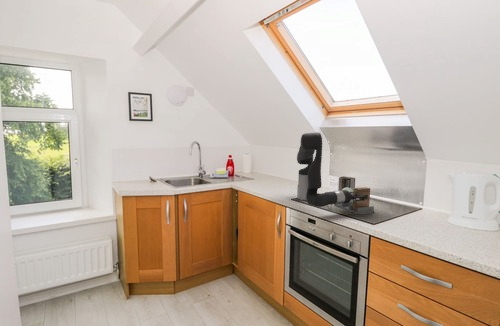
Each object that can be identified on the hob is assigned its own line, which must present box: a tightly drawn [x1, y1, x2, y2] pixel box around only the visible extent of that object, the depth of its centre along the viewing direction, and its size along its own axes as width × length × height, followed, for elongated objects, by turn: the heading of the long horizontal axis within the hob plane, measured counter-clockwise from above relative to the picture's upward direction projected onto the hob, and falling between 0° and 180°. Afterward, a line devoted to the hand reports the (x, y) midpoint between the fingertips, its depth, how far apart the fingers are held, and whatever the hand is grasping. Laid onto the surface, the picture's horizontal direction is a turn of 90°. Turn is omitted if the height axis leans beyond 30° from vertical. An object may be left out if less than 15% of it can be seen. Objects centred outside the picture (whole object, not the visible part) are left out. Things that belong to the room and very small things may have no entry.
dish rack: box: [333, 202, 375, 215], centre depth 172 cm, size 21×12×4 cm, turn 23°
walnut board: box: [353, 186, 371, 211], centre depth 165 cm, size 4×9×13 cm, turn 112°
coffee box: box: [337, 176, 356, 202], centre depth 191 cm, size 9×6×16 cm
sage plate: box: [342, 187, 353, 202], centre depth 177 cm, size 1×11×11 cm, turn 113°
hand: (362, 194), depth 165 cm, fingers open, 8 cm apart
